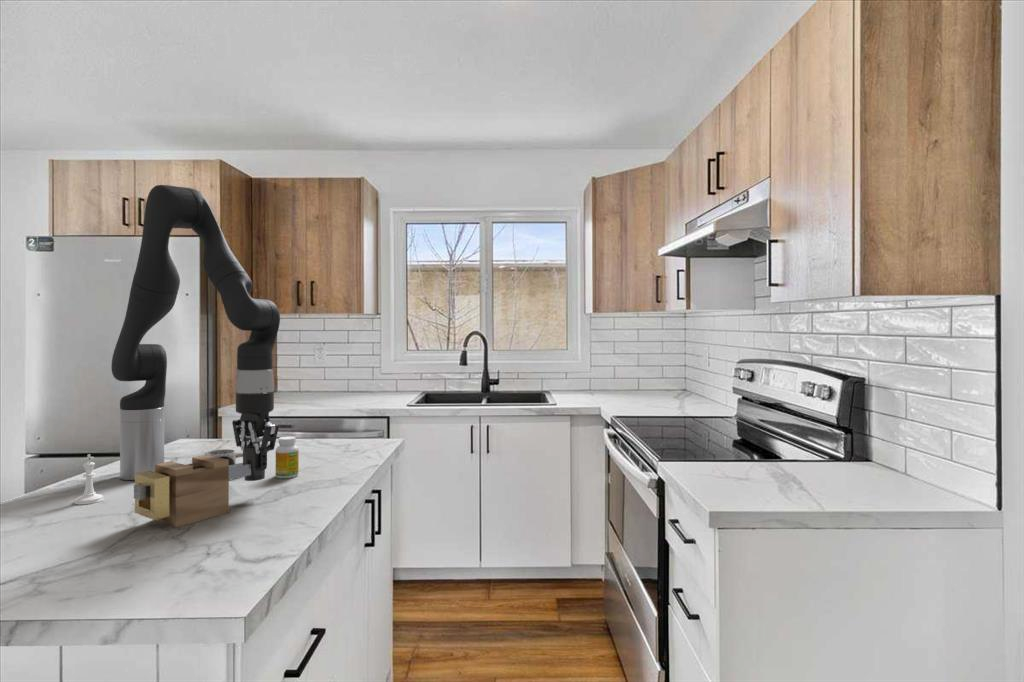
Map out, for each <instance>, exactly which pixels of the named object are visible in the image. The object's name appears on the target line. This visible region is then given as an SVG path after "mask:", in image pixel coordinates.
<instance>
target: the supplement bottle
mask: <svg viewBox="0 0 1024 682" xmlns="http://www.w3.org/2000/svg"><path fill="white" fill-rule="evenodd" d="M296 441H297V440H296V436H282V437H279V438H278V445H279V446H277V447H276V449H275V477H276V478H277V479H292V478H295V477H297V476H298V475H299V465H300V464H299V460H300V459H299V458H300V457H299V455H300V454H299V451H300V450H299V447H298V445H296V443H297V442H296Z"/></svg>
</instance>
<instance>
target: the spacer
mask: <svg viewBox="0 0 1024 682" xmlns="http://www.w3.org/2000/svg"><path fill="white" fill-rule="evenodd" d="M137 484H144V485H148V486H150V498H148V499H144V500H138V499H135V498H134V513H135V514H138V515H140V516H142V517H145V518H148V519H150V520H153V521H158V520H157V519H161V518H165V517H169V476H166V475H163V474H159V473H156V472H152V471H146V472H141V473H135V480H134V485H137Z"/></svg>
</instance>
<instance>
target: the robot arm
mask: <svg viewBox="0 0 1024 682" xmlns="http://www.w3.org/2000/svg"><path fill="white" fill-rule="evenodd" d="M144 208H145V209H144V216H143V226H142V234H141V241H140V242H141V244H140V248H139V254H138V258H137V263H136V268H135V271H134V274H133V278H132V282H131V286H130V292H129V297H128V302H127V306H126V307H127V308H126V313H125V316H124V320H123V324H122V327H121V330H120V333H119V335H118V338H117V342H116V344H115V347H114V351H113V354H112V358H111V373H112V376H113V378H114V379H115V380H117V381H120V382H139V381H140V382H141V381H145V383H144V385H142V387H141V388H140V389H138V390H136V391H135V392H131V393H129V394H127V395H124V396H122V397H120V401H119V459H120V460H119V478H120V479H121V480H122V481H123V480H124V481H135V473H141V472H146V471H152V472H155V464H159V463H165V399H166V392H167V391H166V389H167V388H166V385H167V384H166V383H167V380H166V379H167V371H168V370H167V368H168V357H167V352H166V350H165V348H164V347H163V345H161V344H158V343H141V341H142V339H143V338H144V337H145V335H146V334H147V333H148V332H149V331H150V330H151V329H152V328H153V327H154V326H155V325H157V324H158V323H159V322H160V321H161V320H162V319H164V317H166V316H167V315H168V314H169V313H170V312H171V310H173V309H174V306H175V304H176V300H177V297H178V294H179V293H178V292H179V289H180V285H181V278H180V275H179V272H178V269H177V266H176V264H175V263H174V260H173V259H172V256H171V255H170V250H169V244H170V243H169V242H170V237H171V233H172V230H173V229H185V230H187V229H191V230H192V231H193V232H194V233H196V235H197V237H199V238H200V240H201V242H202V246H203V249H202V251H203V252H202V266H203V270H204V272H205V274H206V276H207V278H208V279H209V280H210V282H211V283H212V285H213V286H214V288H215V289H216V291H217V292H218V293H219V295H220V299H221V301H222V305H223V308H224V311H225V314H226V316H227V319H228V320H229V322H230V323H231V324H232V325H233V326H234V327H235V328H237V329H238V330H241V331H243V332H244V331H246V332H249V331H251V332H250V335H249V338H248V340H246V341H244V342H241V343H240V344H239V345H238V346H237V349H236V351H237V352H236V369H237V370H236V376H235V377H236V378H235V412H236V413H238V414H240V418H239V419H234V420H232V422H231V424H232V429H233V434H234V435H233V436H234V440H235V446H236V447H240V450H241V451H242V453H243V457H242V463H243V462H245V446H249V445H255V450H256V453H257V454H255V469H256V470H257V471H261V470H265V471H266V469H267V468H268V467H267V466H268V453H269V452H270V451H273V450H274V449H275V446H276V442H277V436H278V432H279V428H280V426H279V424H277V423H276V424H273V423H272V422H271V419H270V415H269V414H270V412H273V410H274V407H275V405H274V404H275V397H274V396H275V386H274V385H275V380H274V379H275V377H274V372H273V371H274V369H273V364H274V363H273V359H274V358H273V352H274V351H273V350H274V346H275V344H276V340H277V336H278V332H279V328H280V324H281V315H280V311H279V308H278V306H277V304H275V302H273V301H272V300H269V299H265V298H264V299H263V298H253V297H252V296H251V295H250V293H251V292H252V289H253V286H254V285H253V282H252V280H251V277H250V276H249V275H248V272H246V270H245V268H243V266H242V264H241V263H240V262H239V260H238V259H237V257H236V256H235V254H234V253H233V252H232V250H231V248H230V246H229V243H228V241H227V240H226V238H225V236H224V233H223V230H222V229H221V226H220V225H219V222H218V221H217V218H216V216H215V214H214V211H213V209H212V208H211V205H210V204H209V201H208V200H207V198H206V197H205V196H204V195H203V193H202V192H201V191H199V190H197V189H195V188H191V187H184V186H175V185H166V184H158V185H155V186H153V187H152V188H151V189H150V190H149V193H148V195H147V198H146V202H145V207H144ZM260 445H261V447H260Z"/></svg>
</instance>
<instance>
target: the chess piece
mask: <svg viewBox="0 0 1024 682" xmlns="http://www.w3.org/2000/svg"><path fill="white" fill-rule="evenodd" d="M83 460H84V461H87V462H84V463H83V464H82V466H83V468H84V471H85V473H84V474H82V477H84V478H85V479H86V480H85V485H84V491H83V492H84V493H82V495H81V496H78V497H76V498H75V499H74V505H81V506H83V505H90V504H96V503H99V502H102V501H103V500H104V499H105V498H104V496H103V494H99V493H97V492H96V491H95V489H94V482H93V477H94V476H96V473H95V472H93V470H94V467H95V465H96V463H95V462H93V461H91V460H95V457H94V456H91V453H90V454H87V457H84V458H83Z"/></svg>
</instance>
